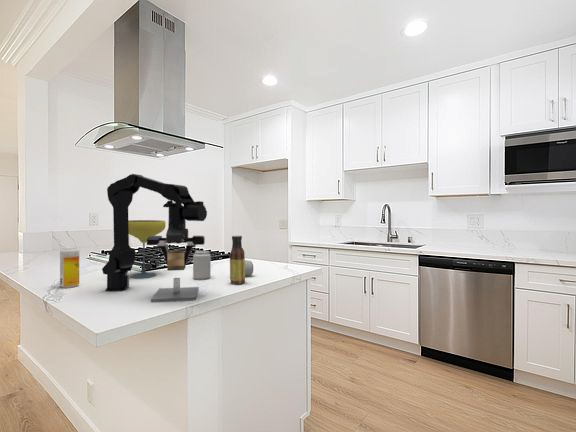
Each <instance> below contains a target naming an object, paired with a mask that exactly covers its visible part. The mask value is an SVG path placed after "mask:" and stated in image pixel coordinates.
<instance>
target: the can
mask: <svg viewBox="0 0 576 432" xmlns="http://www.w3.org/2000/svg"><path fill="white" fill-rule="evenodd" d="M192 257H193V258H192V264H193V265H192V278H194V280H198V281H199V280H208V279H209V278H210V277H211V257H212V255H211V254H210V251H209V250H197V251H194V254H193V255H192Z"/></svg>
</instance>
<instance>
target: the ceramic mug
mask: <svg viewBox="0 0 576 432" xmlns="http://www.w3.org/2000/svg"><path fill="white" fill-rule="evenodd" d="M253 273H254V264H253V262H252V261H251V260H249V259H248V260H247V259H245V277H250V276H252V275H253Z"/></svg>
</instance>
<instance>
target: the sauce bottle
mask: <svg viewBox="0 0 576 432" xmlns="http://www.w3.org/2000/svg"><path fill="white" fill-rule="evenodd" d="M242 239H243V236H242V235H239V234H238V235H231V240H232V246H231V250H230V254H229V280H230V284H232V285H242V284H244V283H246V276H245V260H246V259H245V258H246V257H245V250H244V248H243V246H242Z"/></svg>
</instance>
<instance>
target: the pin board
mask: <svg viewBox="0 0 576 432" xmlns="http://www.w3.org/2000/svg"><path fill="white" fill-rule="evenodd" d="M172 281H173V282H172V286H173V287H164V288H163V287H161V288H160V287H159V289H157V291H156V292H155V293H154V295H153V296H152V297H151V299H150V303H160V302H161V303H162V302H163V303H164V302H184V301H185V302H186V301H196V300H197V296H198V293H199V288H200V287H199V286H192V287H191V286H189V287H181V278H180V277H174V278H173V280H172Z"/></svg>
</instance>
